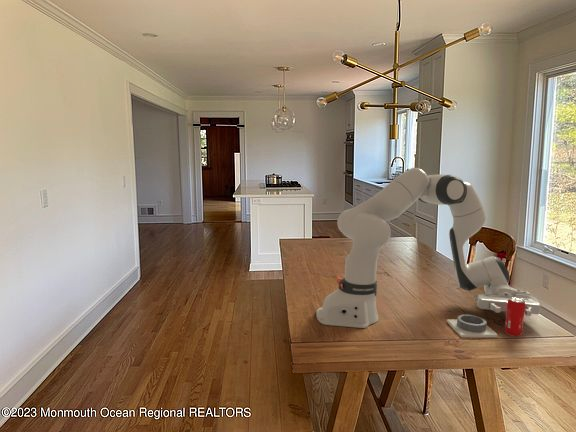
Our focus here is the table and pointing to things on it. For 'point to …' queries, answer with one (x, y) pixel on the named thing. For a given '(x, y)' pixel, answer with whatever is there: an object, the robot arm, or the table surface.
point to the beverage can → (515, 316)
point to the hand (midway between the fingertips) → (513, 312)
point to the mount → (471, 326)
